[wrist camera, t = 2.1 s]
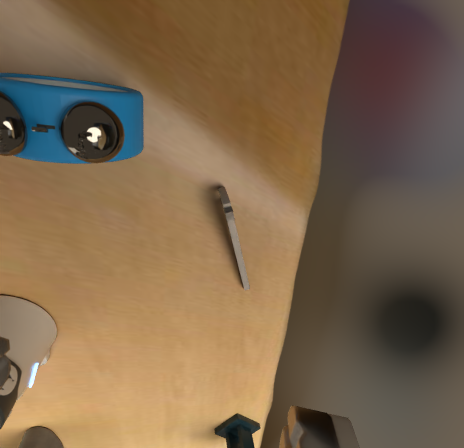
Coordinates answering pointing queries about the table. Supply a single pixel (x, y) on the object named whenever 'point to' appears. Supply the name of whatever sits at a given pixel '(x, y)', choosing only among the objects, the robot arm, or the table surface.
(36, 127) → the alarm clock
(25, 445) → the flask
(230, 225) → the caliper
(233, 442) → the bracket
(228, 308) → the table surface
